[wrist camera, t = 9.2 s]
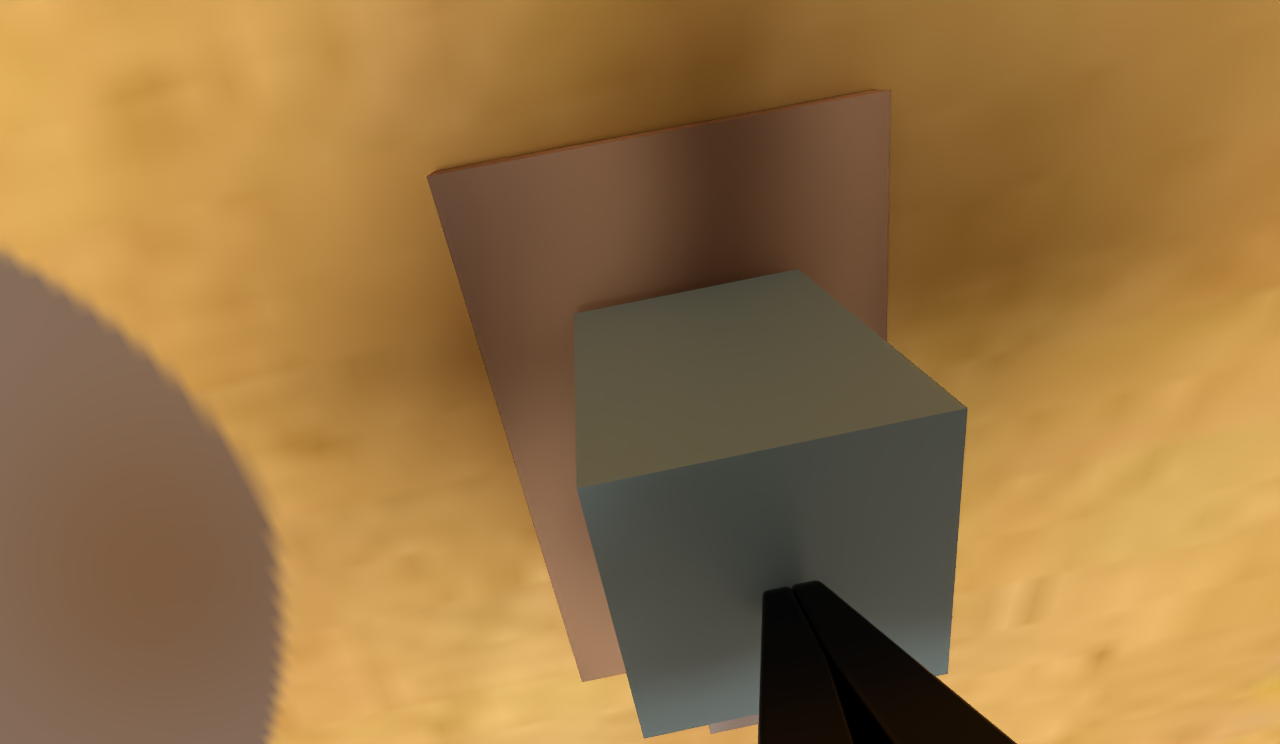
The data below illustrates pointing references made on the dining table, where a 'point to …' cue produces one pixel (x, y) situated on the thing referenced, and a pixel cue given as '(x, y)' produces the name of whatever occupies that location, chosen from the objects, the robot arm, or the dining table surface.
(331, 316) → the dining table surface
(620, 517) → the grey-blue rectangular block
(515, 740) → the dining table surface
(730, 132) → the stand
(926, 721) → the robot arm
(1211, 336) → the dining table surface
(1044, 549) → the dining table surface
